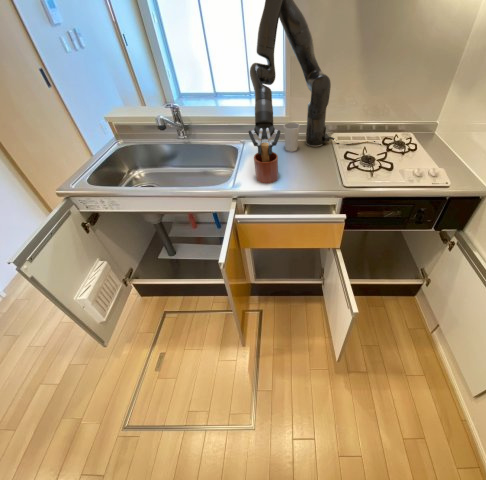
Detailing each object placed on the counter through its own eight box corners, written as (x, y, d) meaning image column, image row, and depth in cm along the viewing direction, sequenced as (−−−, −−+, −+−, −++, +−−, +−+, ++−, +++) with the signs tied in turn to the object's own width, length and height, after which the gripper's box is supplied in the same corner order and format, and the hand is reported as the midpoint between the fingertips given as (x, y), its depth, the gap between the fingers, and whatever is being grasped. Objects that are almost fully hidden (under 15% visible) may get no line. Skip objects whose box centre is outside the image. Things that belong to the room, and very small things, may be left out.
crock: (275, 169, 124) (275, 149, 117) (280, 181, 118) (280, 161, 110) (254, 172, 123) (252, 152, 116) (258, 184, 116) (255, 164, 109)
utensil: (269, 167, 119) (267, 141, 110) (270, 171, 117) (269, 145, 108) (262, 168, 118) (260, 142, 110) (263, 172, 116) (261, 146, 108)
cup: (281, 150, 137) (280, 127, 129) (287, 143, 142) (287, 121, 134) (295, 153, 135) (295, 130, 126) (301, 146, 140) (302, 123, 131)
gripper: (245, 110, 106) (247, 153, 106) (281, 109, 107) (282, 152, 107) (248, 118, 114) (249, 158, 114) (280, 117, 114) (282, 158, 114)
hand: (265, 155), depth 110 cm, fingers closed on utensil, 3 cm apart
